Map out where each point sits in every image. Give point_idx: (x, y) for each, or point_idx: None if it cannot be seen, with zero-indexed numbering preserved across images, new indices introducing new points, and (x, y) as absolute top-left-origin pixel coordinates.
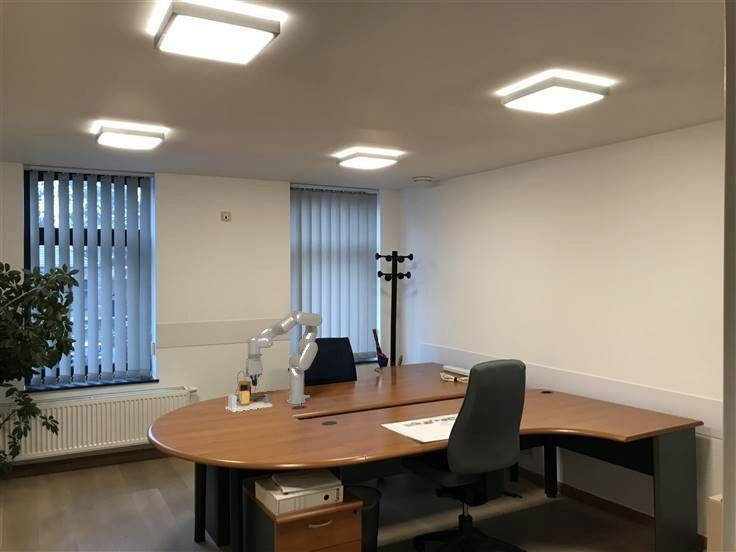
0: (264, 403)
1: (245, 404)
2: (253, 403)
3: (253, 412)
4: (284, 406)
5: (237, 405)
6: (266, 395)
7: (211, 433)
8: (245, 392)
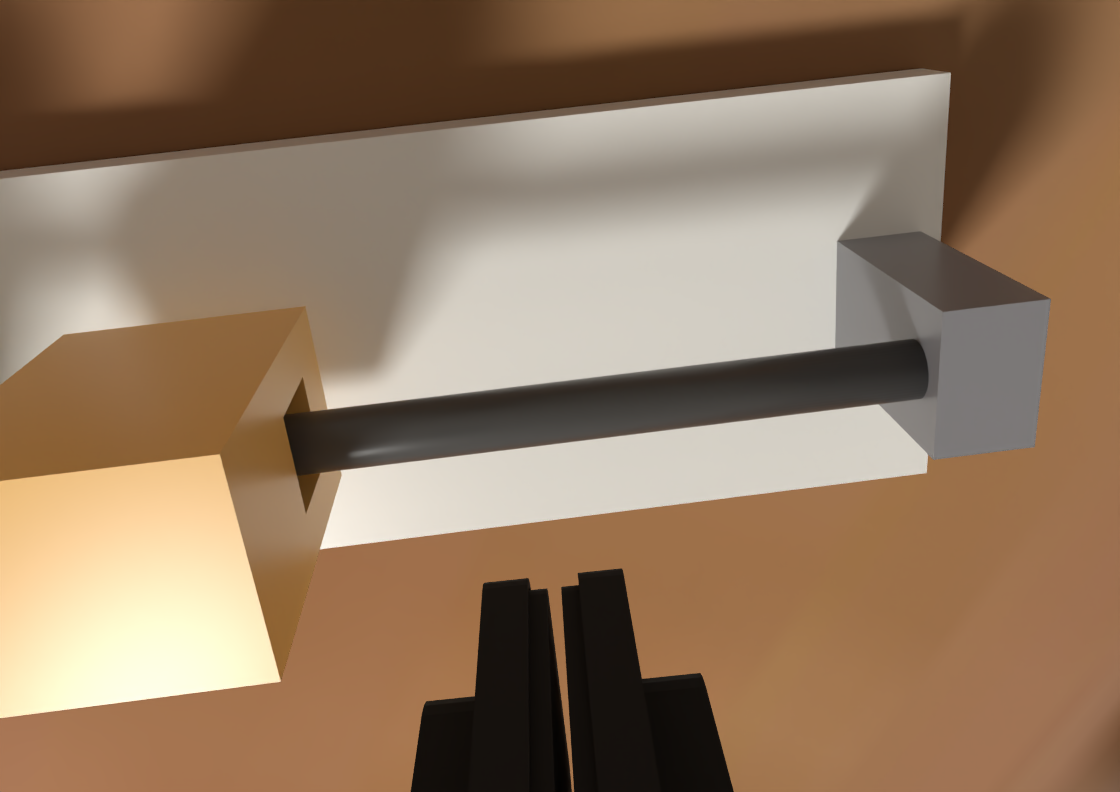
0: (815, 332)
1: (322, 214)
2: (568, 200)
3: (333, 732)
4: (1115, 545)
5: (72, 232)
6: (943, 450)
7: None
8: (103, 696)
